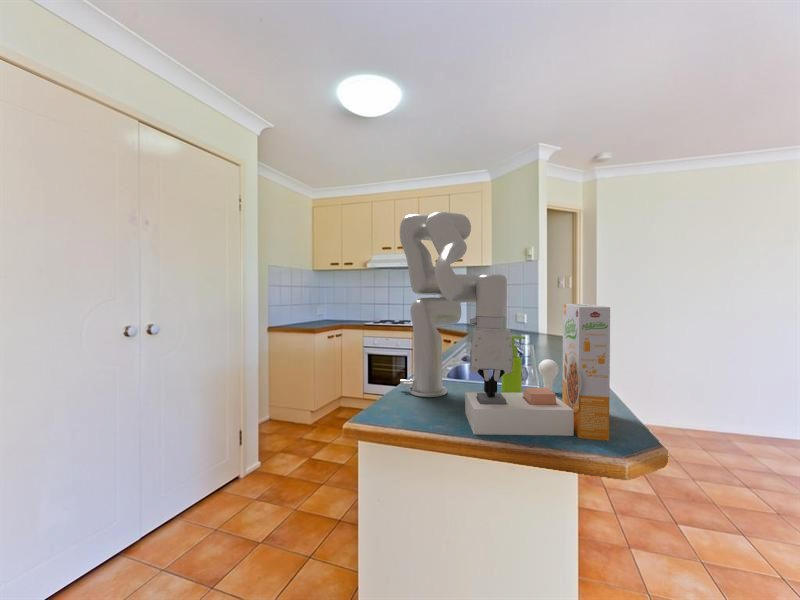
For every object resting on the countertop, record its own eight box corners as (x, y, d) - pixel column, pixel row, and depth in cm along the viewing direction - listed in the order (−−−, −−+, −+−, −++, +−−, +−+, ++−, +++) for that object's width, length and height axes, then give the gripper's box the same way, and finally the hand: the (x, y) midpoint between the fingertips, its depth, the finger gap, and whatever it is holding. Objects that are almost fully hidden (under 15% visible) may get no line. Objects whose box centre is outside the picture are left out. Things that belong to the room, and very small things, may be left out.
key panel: (473, 434, 84) (473, 409, 84) (465, 414, 98) (465, 392, 98) (573, 435, 83) (573, 410, 83) (550, 414, 97) (550, 392, 97)
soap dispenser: (526, 403, 106) (526, 337, 106) (502, 402, 108) (502, 336, 107) (523, 398, 112) (523, 334, 112) (500, 396, 114) (501, 334, 113)
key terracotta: (530, 410, 87) (530, 394, 87) (523, 402, 93) (523, 387, 93) (555, 410, 87) (555, 394, 87) (546, 402, 93) (546, 387, 93)
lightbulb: (550, 396, 114) (550, 361, 114) (534, 391, 120) (534, 358, 119) (562, 393, 117) (562, 360, 117) (546, 388, 123) (546, 357, 122)
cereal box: (562, 407, 103) (563, 303, 103) (586, 409, 101) (587, 303, 101) (578, 437, 82) (579, 307, 81) (609, 440, 80) (610, 307, 79)
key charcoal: (481, 415, 88) (481, 399, 87) (477, 407, 94) (477, 392, 93) (506, 416, 87) (506, 399, 87) (500, 408, 93) (500, 392, 93)
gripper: (463, 324, 87) (462, 399, 87) (525, 325, 86) (524, 400, 86) (459, 322, 94) (459, 390, 95) (516, 322, 93) (516, 391, 94)
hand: (490, 395), depth 91 cm, fingers closed
